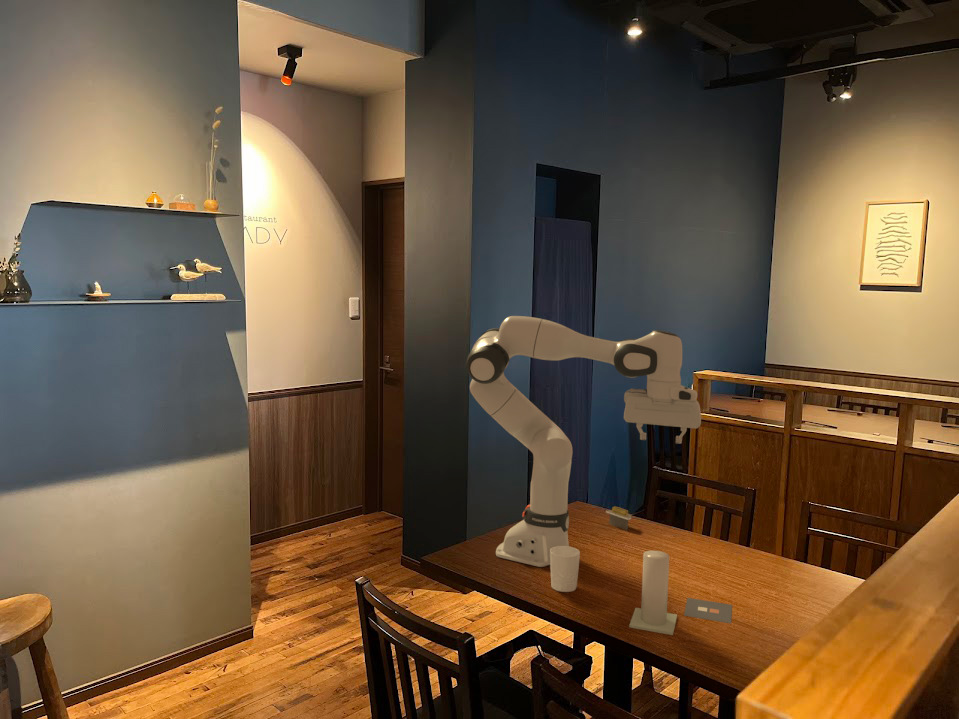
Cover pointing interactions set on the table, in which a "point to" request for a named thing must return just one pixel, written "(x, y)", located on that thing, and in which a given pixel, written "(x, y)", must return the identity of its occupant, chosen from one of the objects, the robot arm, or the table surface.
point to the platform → (619, 517)
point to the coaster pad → (665, 628)
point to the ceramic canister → (655, 587)
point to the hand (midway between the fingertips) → (660, 441)
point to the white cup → (564, 568)
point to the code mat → (708, 610)
